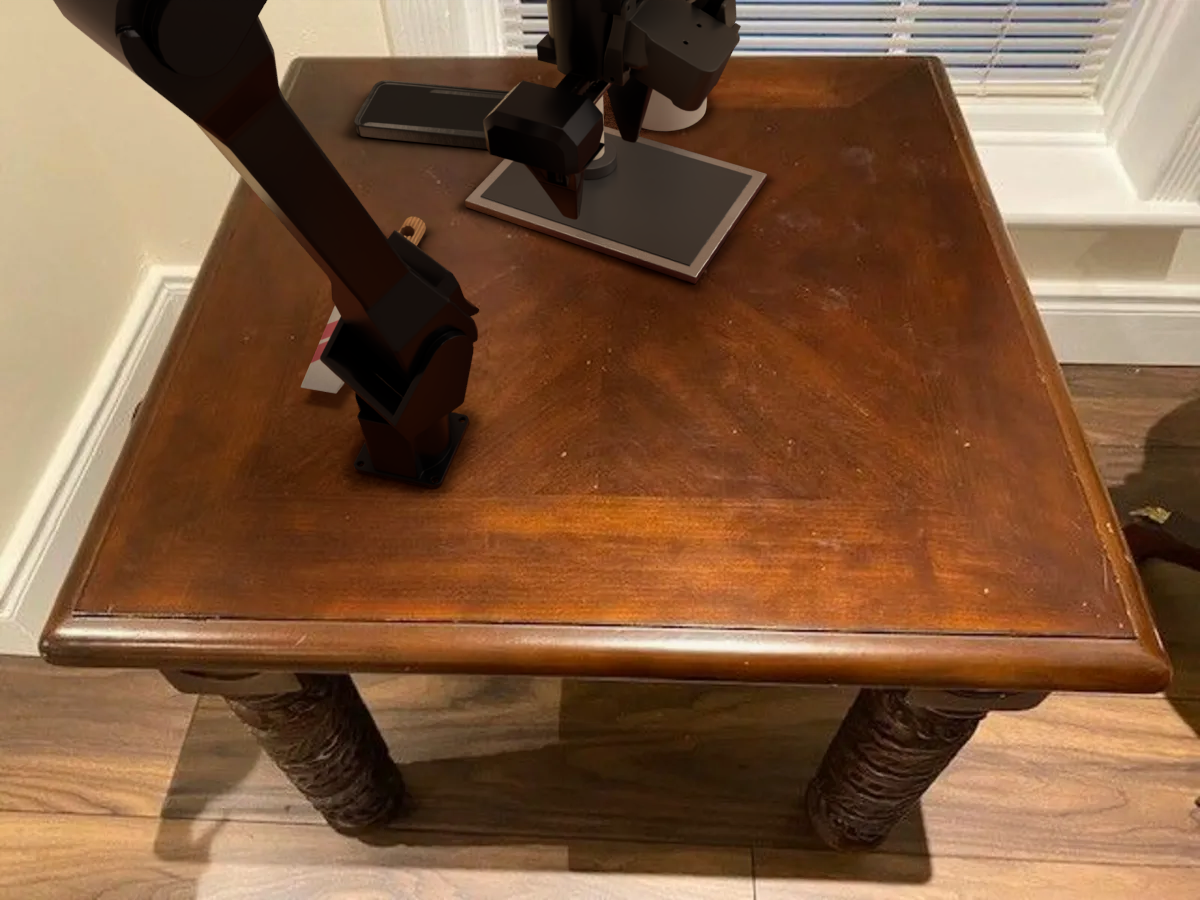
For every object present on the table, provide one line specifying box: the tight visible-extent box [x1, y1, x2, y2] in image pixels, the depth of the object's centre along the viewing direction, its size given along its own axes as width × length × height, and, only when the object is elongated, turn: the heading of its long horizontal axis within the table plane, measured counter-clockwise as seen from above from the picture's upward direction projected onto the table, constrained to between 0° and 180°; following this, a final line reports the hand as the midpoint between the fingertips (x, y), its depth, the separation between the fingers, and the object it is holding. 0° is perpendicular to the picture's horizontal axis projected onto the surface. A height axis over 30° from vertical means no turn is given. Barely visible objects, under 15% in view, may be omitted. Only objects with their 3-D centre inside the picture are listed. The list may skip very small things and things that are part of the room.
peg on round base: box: [584, 95, 617, 180], centre depth 87 cm, size 5×5×14 cm
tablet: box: [464, 125, 768, 285], centre depth 90 cm, size 22×15×1 cm
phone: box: [354, 79, 511, 150], centre depth 98 cm, size 8×1×15 cm
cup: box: [641, 90, 708, 132], centre depth 94 cm, size 8×8×12 cm
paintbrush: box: [300, 215, 427, 394], centre depth 81 cm, size 4×3×20 cm
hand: (601, 177), depth 71 cm, fingers open, 9 cm apart
